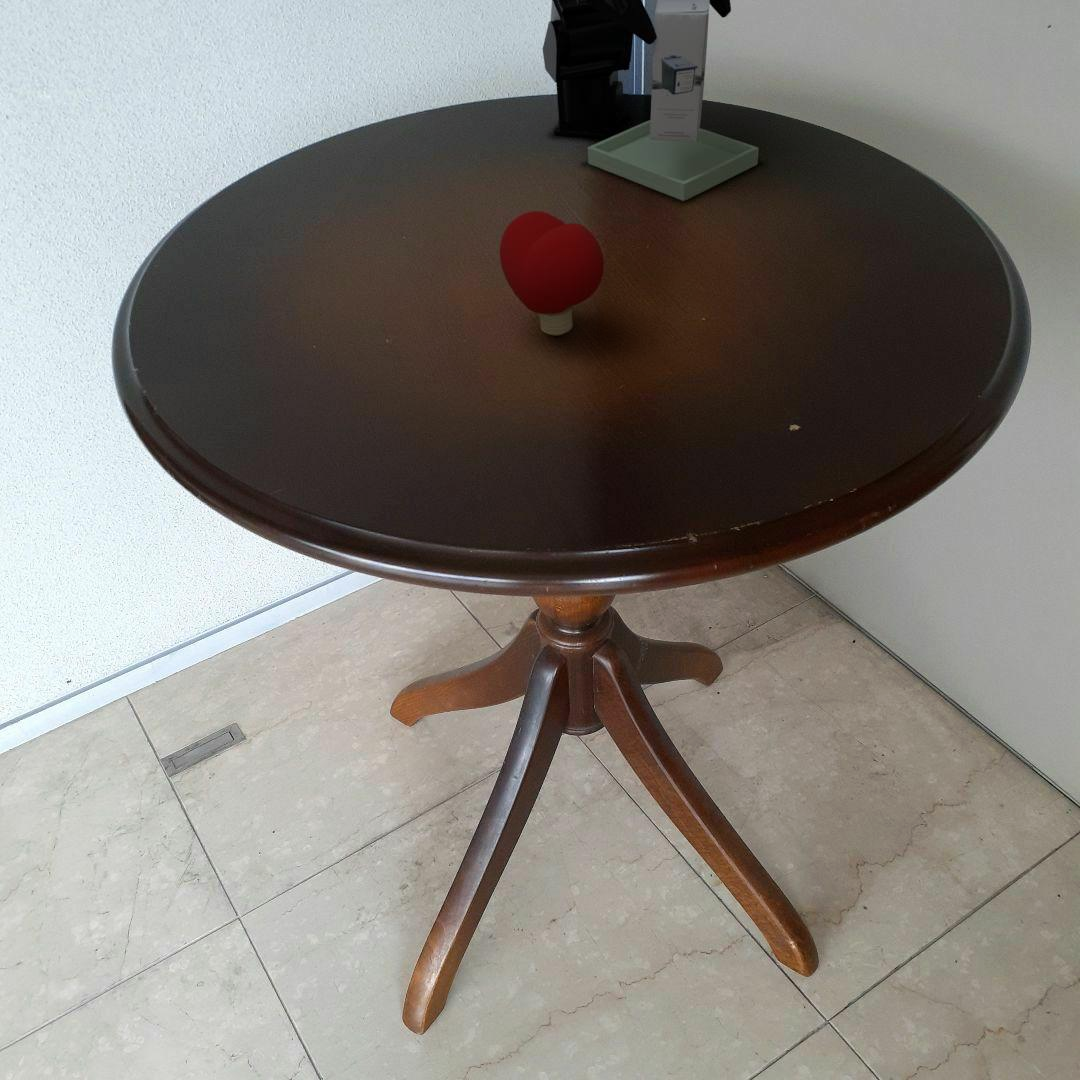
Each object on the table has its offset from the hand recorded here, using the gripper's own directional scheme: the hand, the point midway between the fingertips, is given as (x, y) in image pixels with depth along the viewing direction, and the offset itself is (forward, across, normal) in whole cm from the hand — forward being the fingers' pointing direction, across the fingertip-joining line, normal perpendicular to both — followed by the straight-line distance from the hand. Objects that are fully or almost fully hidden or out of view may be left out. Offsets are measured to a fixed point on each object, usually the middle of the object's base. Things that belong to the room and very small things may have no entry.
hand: (690, 27), depth 94 cm
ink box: (+6, 0, +8) cm, 10 cm away
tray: (+8, +2, +14) cm, 16 cm away
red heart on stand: (+20, -27, +1) cm, 33 cm away
